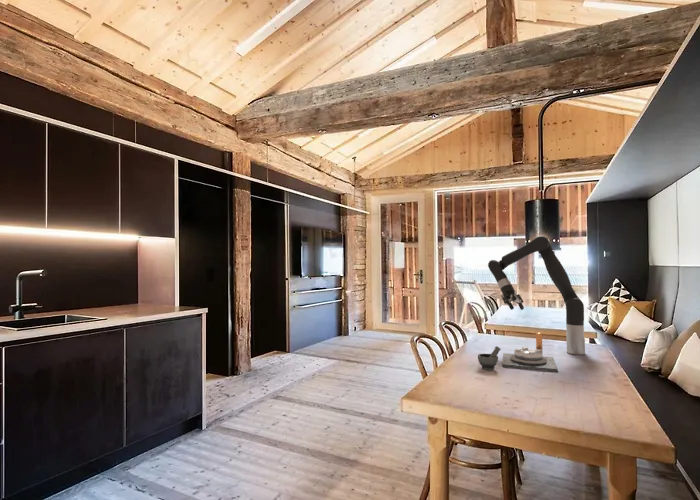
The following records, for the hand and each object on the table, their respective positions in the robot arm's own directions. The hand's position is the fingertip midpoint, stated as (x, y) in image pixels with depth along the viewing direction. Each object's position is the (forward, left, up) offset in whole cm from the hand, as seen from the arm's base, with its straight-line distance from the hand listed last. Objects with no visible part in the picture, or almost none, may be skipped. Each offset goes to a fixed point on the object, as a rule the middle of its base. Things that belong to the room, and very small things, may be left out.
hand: (517, 309), depth 239 cm
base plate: (-5, +27, -26) cm, 38 cm away
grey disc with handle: (-6, +24, -23) cm, 34 cm away
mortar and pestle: (+14, +47, -26) cm, 56 cm away
